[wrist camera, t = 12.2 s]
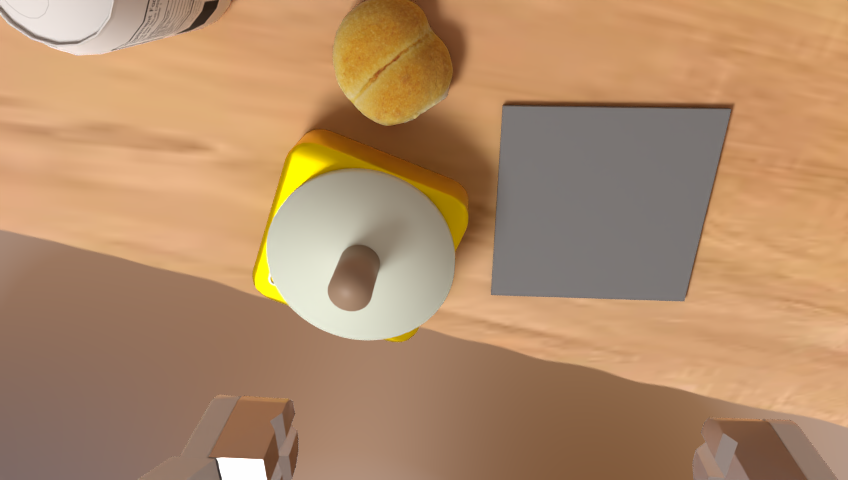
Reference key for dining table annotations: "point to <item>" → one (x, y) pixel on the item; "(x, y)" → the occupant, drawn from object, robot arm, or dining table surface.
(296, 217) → the lid
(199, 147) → the dining table surface
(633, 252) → the mat
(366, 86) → the bread roll
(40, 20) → the supplement can
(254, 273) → the element tile
